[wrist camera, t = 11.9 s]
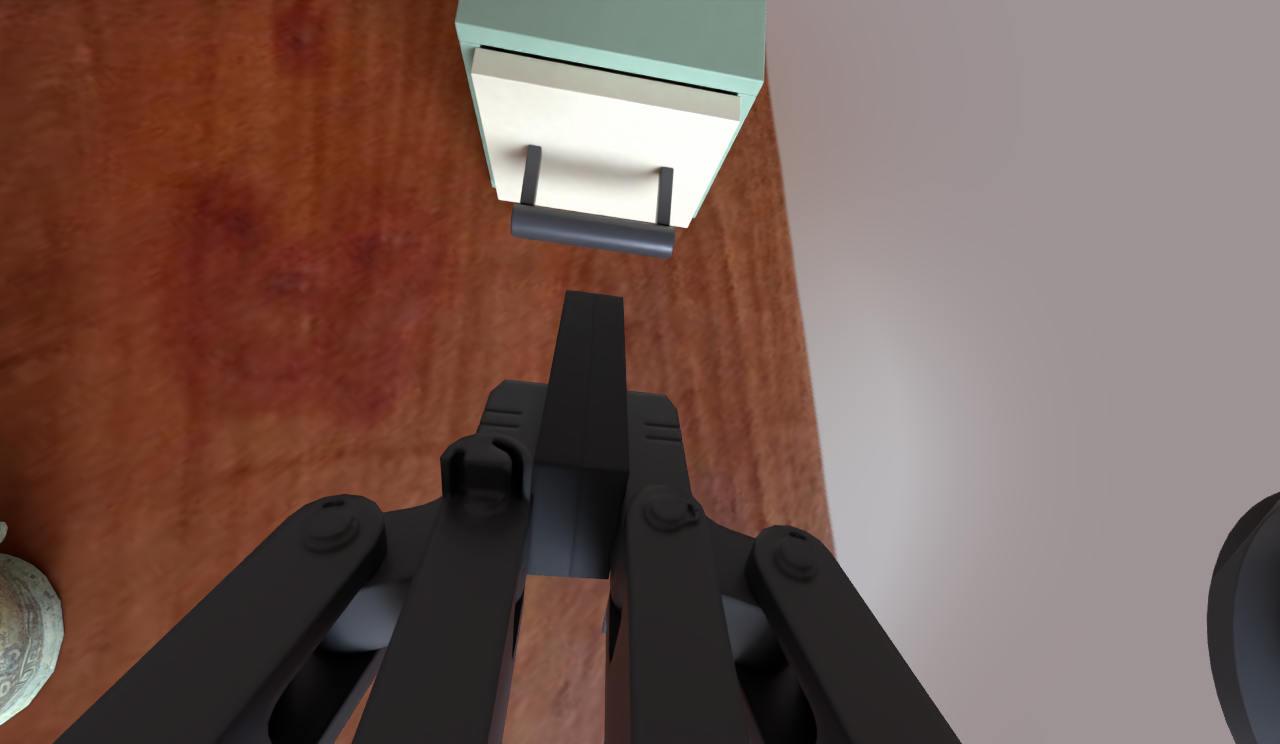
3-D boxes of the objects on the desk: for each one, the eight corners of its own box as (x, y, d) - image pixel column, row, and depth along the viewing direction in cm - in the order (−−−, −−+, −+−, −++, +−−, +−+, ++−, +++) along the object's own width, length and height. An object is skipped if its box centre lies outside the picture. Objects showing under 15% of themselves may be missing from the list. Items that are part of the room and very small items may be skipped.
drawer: (682, 300, 28) (736, 220, 19) (486, 274, 27) (451, 176, 18) (700, 29, 32) (751, -136, 23) (530, -5, 30) (518, -193, 22)
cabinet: (694, 218, 30) (764, 82, 20) (492, 187, 29) (453, 22, 18) (707, 14, 33) (773, -195, 23) (525, -24, 32) (509, -264, 22)
